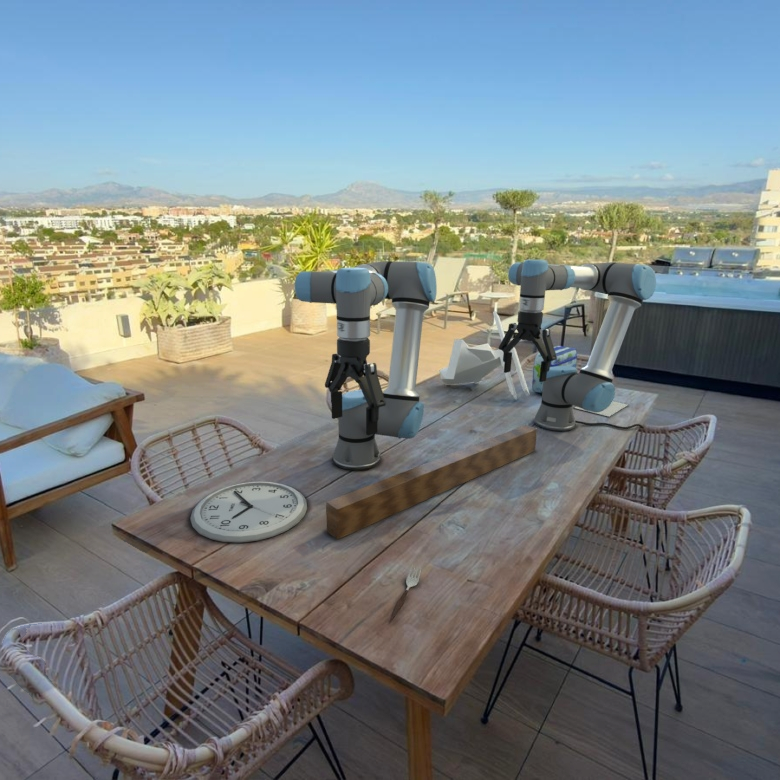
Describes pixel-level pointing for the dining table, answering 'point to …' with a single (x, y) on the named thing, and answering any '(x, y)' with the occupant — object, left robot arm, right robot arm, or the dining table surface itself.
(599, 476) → the dining table surface
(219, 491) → the wall clock
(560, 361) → the lunch box
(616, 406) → the invitation card
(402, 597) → the fork
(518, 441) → the beam
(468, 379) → the white plastic object
